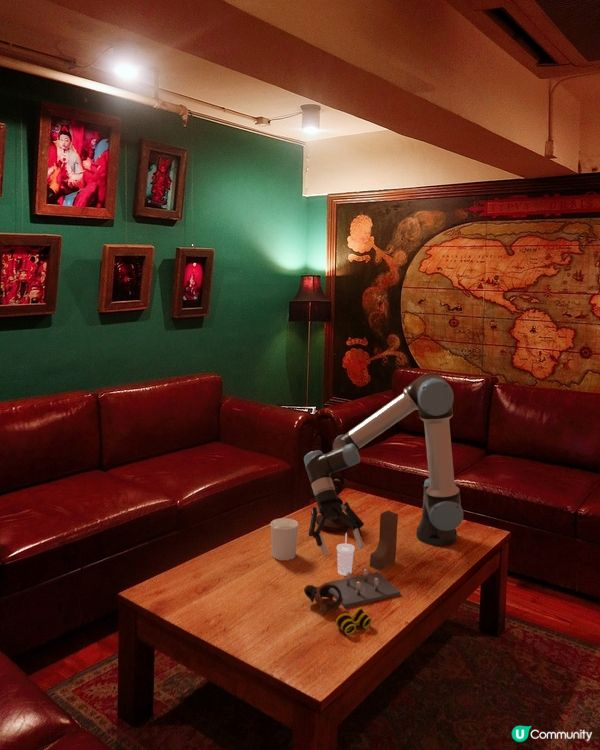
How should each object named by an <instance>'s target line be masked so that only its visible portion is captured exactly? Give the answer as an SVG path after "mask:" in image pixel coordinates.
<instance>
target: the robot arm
mask: <svg viewBox="0 0 600 750" xmlns="http://www.w3.org/2000/svg"><path fill="white" fill-rule="evenodd" d="M454 399H455V398H454V391H453V389H452V386H451V385H450V384H449V383H448V382H447V381H446V380H445V378H444V377H443V376H442V375H440V374H438V373H434V372H429V373H424V374H422V375H420V376H419V377H418V378H416V379H414V380H413V381H412V382H411V383H410V384H408V385H407V386H406V387H404V388H403V392H402V393H401V394H399V395H398V396H396V397H395V398H393V399H392V400H391V401H390V402H388V403H386V404H385V405H383V406H382V407H381V408H379V409H378V410H377V411H375V412H374V413H372V414H371V415H370V416H369V417H367V418H366V419H364V420H362V422H360V423H359V424H357V425H356V426H354V427H353V428H351V429H350V430H349V431H348V432H345V434H340V435H338V436H337V437H336V438H334V441H333V443H332V450H331V451H329V452H326V453H324V452H323V451H322V450H319V449H317V450H314V451H313V450H312V451H309V452H308V453H306V454H305V455H304V457H303V461H304V462H303V463H304V466H305V471H306V473H307V476H308V478H309V482H310V485H311V488H312V491H313V495H314V496H315V497H314V498H315V501H316V506H317V507H316V506H312V508H311V510H310V514H311V518H310V522H309V523H310V524H309V529H308V536H309V537H310V538H311V537H313V539H315V541H316V545H317V547H319V548H320V550H321V554H322V557H326V556H327V555H328V554H329V552H328V548H327V545H326V542H325V539H324V535H323V533H321V532H322V531H323V530H322V527H323V525H324V523H325V520H326V519H328V520H329V519H336V518H338V519H341V520H342V521H344V522H345V523H346V524H347V525H349V526H350V528H351V529H352V533H353V536H354V539H355V541H356V545H357V548H358V550H362V549H363V548H364V547H365V546H364V542H363V539H362V538H363V534H362V530H361V528H363V526H364V524H365V523H364V521H363V520H362V519H360V517H359V516H358V515H357V514H356V512H355V511H354V510H353V509H352V508H351V507H350V505H349V504H350V503H348V501H346V502H344V503H343V504H342V505H340V503H339V501H338V497H339V496H338V497H337V494H336V491H335V488H334V485H333V482H332V479H331V477H332V476H331V475H332V474H333V475H334V474H335V473H338V472H341V471H343V470H345V469H346V470H347V468H350V467H354V466H356V465H357V464H359V463H360V462H361V457H360V454H359V450H360V449H361V448H362V447H364V446H365V445H366V444H368V443H369V442H371V441H372V440H374V439H375V438H376V437H378V436H379V435H381V434H383V433H384V432H385V431H386V430H388V429H390V428H391V427H392V426H394V425H395V424H396V423H398V422H400V421H401V420H403V418H406V417H407V416H408V415H409V414H411V413H412V412H414V411H416V410H418V417H419V419H420V420H421V421H423V426H424V435H425V436H424V437H425V446H426V459H427V469H428V478H426V479H425V480H424V484H423V499H422V510H421V511H422V513H421V514H422V515H421V518H420V521H419V522H418V523H419V524H418V526H417V527H416V533H415V535H416V538H417V539H418V540H419V541H421V542H423V543H425V544H428V545H433V546H438V547H439V546H443V547H445V546H451V545H453V544H455V543H456V542H457V539H458V533H457V528H458V527H459V526H460V525H461V524H462V522H463V520H464V510H463V507H462V505H461V503H462V502H461V494H460V492H461V491H460V488H459V486H457V483H456V482H455V477H454V476H455V472H454V463H453V462H454V461H453V450H452V441H451V428H450V426H451V425H450V419H451V418H453V416H454V411H453V404H454ZM341 508H342V510H341ZM319 513H320V514H319ZM318 514H319V515H322V518H321V520H320V523H319V525H317V523H316V519H317V517H318ZM339 514H341V515H339ZM345 514H347V515H348V516H349V517H350V518H349V517H348V516H347V515H345ZM316 525H317V528H316Z"/></svg>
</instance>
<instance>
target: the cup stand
mask: <svg viewBox="0 0 600 750" xmlns="http://www.w3.org/2000/svg"><path fill="white" fill-rule="evenodd" d="M368 571H369V569H368V568H363V574H361V575H356V576H351V574H350V572H347V575H346V576H345V577H346V578H342V579H336V580H333V581H329V582H324V583H323V584H325V583H326V584H327V583H330V584H333V585H336V586H337V587H338V588H339V589H340V591H341V594H342V595H341V596H342V599H343V601H342V602H341V605H340V606H342V607H343V608H344V609H348V608H352V607H355V606H359V605H365V604H368V603H374V602H377V601H382V600H385V599H391V598H394V597H397V596H401V595H402V593H401V591H400V589H398V588H397V587H396V586H395V585H394V584H392V583H391V582H390V581H389V580H387V579H386V578H385V577H384V576H382V575H381V574H380V573H379V572H377V571H374V572H371V573H370V572H369V573H368ZM329 592H331V593H332V594H334V596H333V598H335V601H336V600H337V599H338V597H339V594H338V592H337V591H336V590H335V589H334V588H330V589H329Z"/></svg>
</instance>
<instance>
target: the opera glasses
mask: <svg viewBox="0 0 600 750" xmlns="http://www.w3.org/2000/svg"><path fill="white" fill-rule="evenodd" d="M335 619H336V620H335V626H337V628H338V629H340V630H341V631H343V632H344V634H345V635H346V636H350V635H353V634H355V632H356V630H357V626H359V627H360V628H361V627H362V628H363V629H364V630H366V629H368V628H369V627H370V626H371V624H372V621H373V619H372V617H370V616H369V615H368V614H367V613H366V612H365V611H364V610H363V607H358V608H357V609H356V611H355V612H354V613H353V615H351V614H350V613H348V612H347V613H342V614H340V615H339V616H338V617H337V618H335Z"/></svg>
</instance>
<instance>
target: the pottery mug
mask: <svg viewBox="0 0 600 750" xmlns="http://www.w3.org/2000/svg"><path fill="white" fill-rule="evenodd" d="M324 583H325V584H324ZM324 583H322V584H321V585H319V586H314V585H306V586H305V587H304V589H303V591H304V594H305V595H306V597H307V598H309V600H310V602H311V603H314V601H317V604H318V605H319V606H320V608H319V609H318V612H319V613H320V614H321V615H325V614H326V613H329V612H332V611H335V610H337V609H339V607H340V606H342V605H341V602H342V601H343V599H342V596H341V595H342V594H341V591H340V589H339V588H338V587H337V586H336V585H333V584H330V583H327V582H324ZM326 583H327V584H326ZM330 588H334V589H335V590H336V591H337V592H338V594H339V597H338V599H337V600H336V599H335V601H332V602H328V601H326V603H324V598H327V599H329V600H333V598H334V597H333V596H334V594H332V593H331V592H329V589H330Z"/></svg>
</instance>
